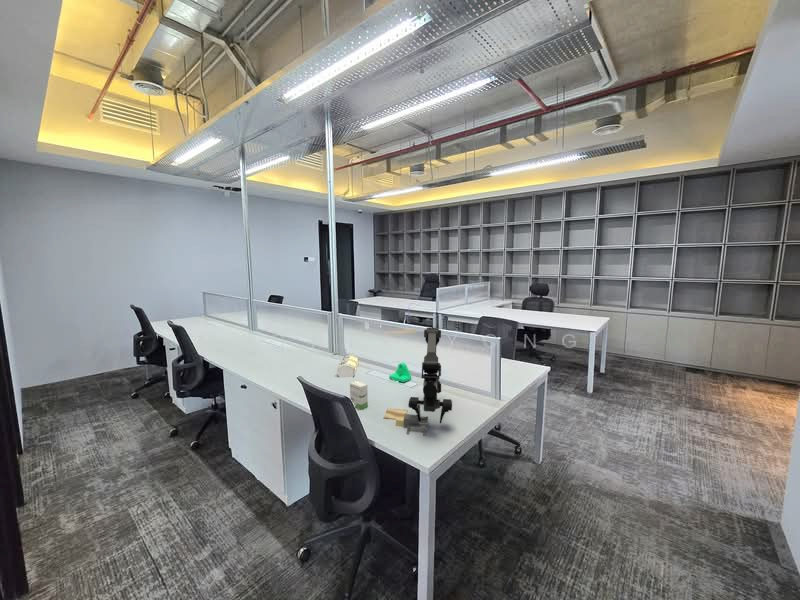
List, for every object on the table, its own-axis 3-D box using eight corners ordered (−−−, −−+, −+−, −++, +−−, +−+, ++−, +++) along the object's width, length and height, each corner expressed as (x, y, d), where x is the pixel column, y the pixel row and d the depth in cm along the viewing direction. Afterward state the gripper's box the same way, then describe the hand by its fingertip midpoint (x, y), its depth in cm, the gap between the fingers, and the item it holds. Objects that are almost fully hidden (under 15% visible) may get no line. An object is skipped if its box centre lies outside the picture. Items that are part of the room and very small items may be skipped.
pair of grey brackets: (411, 416, 154) (411, 412, 153) (428, 418, 152) (428, 414, 152) (406, 433, 138) (406, 429, 138) (425, 435, 137) (425, 431, 137)
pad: (387, 409, 162) (387, 408, 162) (407, 410, 160) (407, 409, 160) (383, 418, 152) (383, 417, 152) (404, 420, 150) (404, 419, 150)
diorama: (343, 365, 230) (343, 347, 229) (358, 365, 231) (358, 347, 229) (337, 377, 206) (337, 357, 204) (354, 377, 206) (353, 357, 204)
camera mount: (388, 379, 203) (388, 363, 202) (396, 376, 209) (396, 360, 207) (403, 384, 195) (403, 367, 194) (411, 380, 201) (411, 364, 200)
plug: (397, 421, 149) (397, 413, 148) (429, 424, 147) (429, 415, 146) (395, 426, 144) (395, 418, 144) (428, 429, 142) (428, 420, 142)
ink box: (368, 407, 164) (368, 384, 162) (360, 410, 160) (360, 387, 159) (357, 401, 170) (357, 380, 168) (349, 404, 166) (349, 382, 165)
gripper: (407, 394, 136) (406, 429, 138) (452, 396, 133) (451, 433, 135) (410, 384, 147) (410, 417, 149) (452, 386, 144) (451, 420, 146)
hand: (430, 422), depth 144 cm, fingers open, 9 cm apart
